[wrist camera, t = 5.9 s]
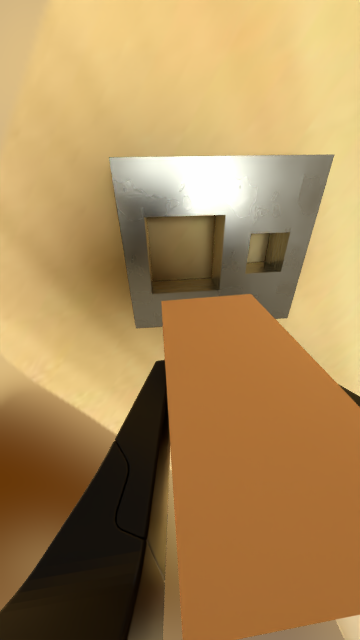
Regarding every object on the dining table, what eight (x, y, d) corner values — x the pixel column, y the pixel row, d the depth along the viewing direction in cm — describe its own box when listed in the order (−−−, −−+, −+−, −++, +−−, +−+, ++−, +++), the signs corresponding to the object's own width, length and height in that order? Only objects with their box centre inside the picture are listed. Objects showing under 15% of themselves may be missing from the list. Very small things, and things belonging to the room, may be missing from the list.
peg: (251, 293, 9) (526, 581, 2) (240, 360, 11) (370, 613, 4) (161, 301, 9) (183, 650, 2) (167, 368, 11) (188, 649, 4)
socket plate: (305, 161, 16) (334, 154, 13) (272, 303, 22) (287, 317, 19) (117, 164, 15) (108, 157, 12) (138, 312, 21) (136, 328, 18)
